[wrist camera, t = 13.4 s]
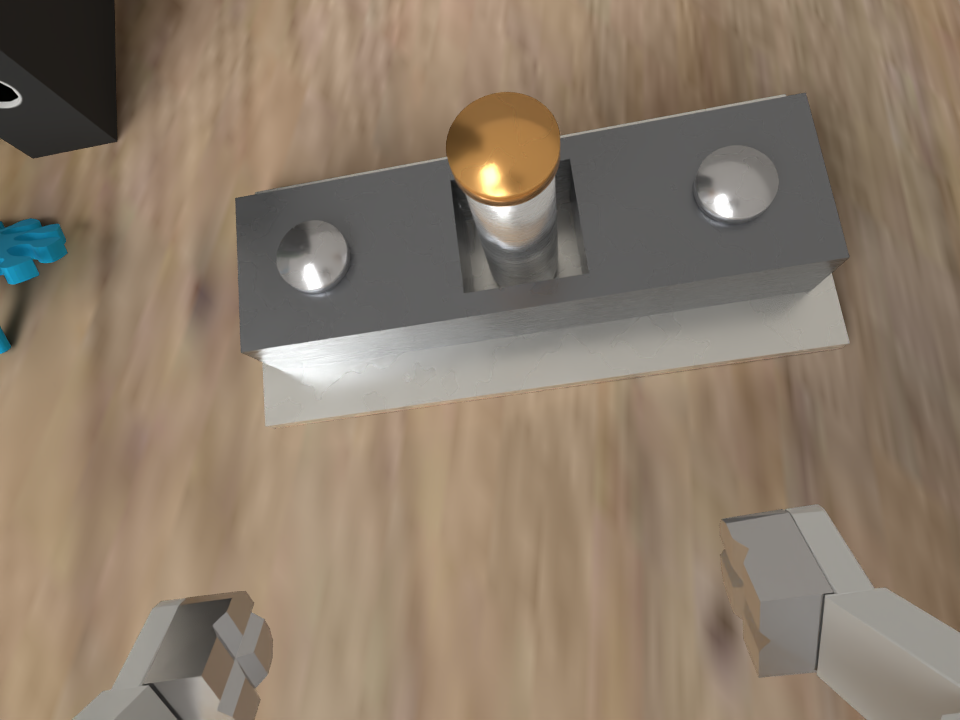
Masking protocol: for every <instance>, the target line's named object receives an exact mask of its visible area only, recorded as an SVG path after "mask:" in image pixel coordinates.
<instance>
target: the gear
mask: <svg viewBox="0 0 960 720" xmlns="http://www.w3.org/2000/svg"><path fill="white" fill-rule="evenodd" d="M65 242H66V238H65V236H64V234H63V232H62V229H61V227H60V225H59V224H51V225H47V226H44V227H42V225H41V223H40V221H39V220H37V219H32V218H30V219H26V220H22V221H20V222H17V223H15V224H13V225H11V226H9V227H6V228H5V227H4V225H3V223H2V222H1V221H0V275H4V276H5V278H6V280H7V282H8V283H9V284H17V283H21V282H24V281H26V280H29V279H31V278H34V277H36V276H38V275H39V272H38V270H37V268H36V266H35V264H34V262H33V260H32V259H37V260H38V261H39V262H40V263H51V262H55V261H57V260H59V259H61V258H62V257H63V256H65V255H66V254H67V253H68V252H67V250H66V248H65V246H64V244H65ZM10 348H11V345H10V343H9V342H8V340H7V338H6V336H5V334H4V332H3V331H2V329H1V327H0V354H1V353H4V352H6V351H8V350H9V349H10Z"/></svg>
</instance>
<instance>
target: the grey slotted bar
mask: <svg viewBox="0 0 960 720" xmlns="http://www.w3.org/2000/svg"><path fill="white" fill-rule="evenodd" d="M555 186H556V211H557V237H558V268H557V272H556V274H555V276H554V278H553V279H550V280H544V281H538V282H532V283H525V284H519V285H513V286H507V287H500V286H499V285H498V284H497V283H496V282H495V280H494V279H493V277H492V274H491V272H490V269H489V265H488V262H487V259H486V256H485V253H484V250H483V247H482V244H481V241H480V238H479V234H478V231H477V228H476V225H475V222H474V219H473V216H472V213H471V210H470V207H469V203H468V200H467V197H466V194H465V193H464V192H463V191H462V190H461V188H460V187H459V186H458V184H457V183H456V181H455V179H454V176H453V174H452V171H451V168H450V165H449V162H448V158H447V157H443V158H438V159H432V160H427V161H422V162H416V163H411V164H405V165H400V166H395V167H389V168H384V169H379V170H373V171H368V172H362V173H357V174H352V175H346V176H341V177H335V178H330V179H325V180H319V181H314V182H308V183H303V184H298V185H292V186H287V187H281V188H276V189H271V190H265V191H260V192H255V195H250V196H244V197H239V198H235V201H236V229H237V257H238V285H239V314H240V342H241V353H243V354H245V355H248V356H250V357H252V358H254V359H257V360H259V361H261V362H263V382H264V405H265V426H266V427H270V428H275V429H276V428H283V427H290V426H297V425H304V424H311V423H318V422H325V421H332V420H339V419H346V418H353V417H361V416H368V415H375V414H382V413H389V412H396V411H403V410H410V409H417V408H424V407H431V406H438V405H445V404H452V403H459V402H467V401H474V400H481V399H488V398H495V397H502V396H509V395H516V394H523V393H530V392H537V391H544V390H551V389H558V388H565V387H573V386H580V385H587V384H594V383H601V382H608V381H615V380H622V379H629V378H636V377H643V376H650V375H657V374H664V373H671V372H678V371H686V370H693V369H700V368H707V367H714V366H721V365H728V364H735V363H742V362H749V361H756V360H763V359H770V358H777V357H784V356H792V355H799V354H806V353H813V352H820V351H827V350H834V349H840V348H842V347H844V346H846V345H848V344H849V343H850V342H849V338H848V335H847V331H846V327H845V323H844V319H843V315H842V311H841V307H840V303H839V300H838V296H837V292H836V288H835V284H834V280H833V276H832V272H833V271H834V270H836V269H837V268H838V267H839V266H840V265H841V264H842V263H844V262H845V261H846V260H847V259H848V258H849V254H848V250H847V246H846V242H845V239H844V235H843V231H842V227H841V224H840V220H839V216H838V212H837V209H836V205H835V201H834V197H833V193H832V190H831V186H830V182H829V178H828V175H827V171H826V167H825V163H824V160H823V156H822V152H821V148H820V145H819V141H818V137H817V133H816V129H815V126H814V122H813V118H812V114H811V111H810V107H809V103H808V99H807V96H806V93H801V94H796V95H791V96H786V94H783V95H778V96H772V97H767V98H762V99H756V100H751V101H745V102H740V103H735V104H729V105H724V106H718V107H713V108H708V109H702V110H697V111H691V112H686V113H681V114H675V115H670V116H664V117H659V118H654V119H648V120H643V121H637V122H632V123H627V124H621V125H616V126H611V127H605V128H600V129H594V130H589V131H584V132H578V133H573V134H567V135H562V136H560V163H559V167H558V170H557V172H556V174H555Z"/></svg>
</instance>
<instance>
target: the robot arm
mask: <svg viewBox="0 0 960 720" xmlns="http://www.w3.org/2000/svg"><path fill="white" fill-rule="evenodd" d="M719 526H720V538H721V540H722V543H723V545H724V548H725V549H724V551H723V552H722V553H721V554H720V560H721V571H722V576H723V582H724V586H725V590H726V593H727V596H728V599H729V602H730V605H731V607H732V610H733V613H734V614H736V615H737V616H738V617H740V618H741V619H742V620H743V639H744V641H745V644H746V646H747V649H748V651H749V654H750V656H751V659H752V662H753V664H754V667H755V669H756V672H757V674H758V677H770V676H781V675H792V674H803V673H813V672H817V676H818V677H819V678H821V679H822V680H823V681H824V682H825V683H826V684H827V685H828V686H830V687H831V688H832V689H833V690H834V691H835V692H836V693H837V694H839V695H840V696H841V697H842V698H843V699H844V700H845V701H846V702H848V703H849V704H850V705H851V706H852V707H853V708H854V709H855V710H856V711H858V712H859V713H860V714H861V715H862V716H863V717H864V718H865V719H867V720H960V632H958V631H956V630H955V629H953V628H951V627H950V626H948V625H946V624H945V623H943V622H941V621H940V620H938V619H937V618H935V617H933V616H932V615H930V614H928V613H927V612H925V611H923V610H922V609H920V608H918V607H917V606H915V605H913V604H912V603H910V602H908V601H907V600H905V599H903V598H902V597H900V596H899V595H897V594H895V593H894V592H892V591H890V590H889V589H887V588H874V587H873V585H872V583H871V582H870V580H869V579H868V577H867V576H866V574H865V572H864V571H863V569H862V568H861V566H860V564H859V563H858V561H857V560H856V558H855V557H854V555H853V553H852V552H851V550H850V549H849V547H848V546H847V544H846V542H845V541H844V539H843V538H842V536H841V534H840V533H839V531H838V530H837V528H836V527H835V525H834V523H833V522H832V520H831V519H830V517H829V515H828V514H827V512H826V511H825V509H824V508H823V507H821V506H820V505H818V504H816V505H810V506H803V507H796V508H790V509H785V510H783V509H781V510H774V511H768V512H762V513H756V514H749V515H743V516H737V517H731V518H724V519H721V521H720V524H719ZM253 606H254V602H253V600H252V599H251V598H250V596H249V595H248V593H247V592H246V591H237V592H229V593H221V594H212V595H204V596H196V597H187V598H182V599H174V600H166V601H161V602H159V603H158V604H157V605H156V606H155V607H154V608H153V609H152V610H151V612H150V614H149V616H148V618H147V620H146V622H145V624H144V626H143V628H142V630H141V632H140V634H139V636H138V638H137V640H136V642H135V644H134V646H133V648H132V650H131V652H130V654H129V656H128V658H127V659H126V661H125V663H124V665H123V667H122V669H121V671H120V673H119V675H118V677H117V679H116V681H115V683H114V685H113V687H112V689H111V690H107V691H102V692H101V693H100V694H99V695H98V696H97V697H96V698H95V699H94V700H93V701H92V702H91V703H89V704H88V705H87V706H86V707H85V708H84V709H83V710H82V711H81V712H80V713H79V714H77V715H76V716H75V717H74V718H73V719H72V720H255V716H256V713H257V710H258V706H259V703H260V697H259V695H258V692H257V690H256V687H257V686H258V685H259V684H260V683H261V682H262V680H263V679H264V678H265V677H266V676H267V675H268V673H269V669H270V665H271V662H272V657H273V639H272V635H271V631H270V628H269V626H268V625H267V623H266V621H265V619H263V618H261V617H259V616H257V615H255V614H254V613H252V609H253Z"/></svg>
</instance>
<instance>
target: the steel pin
mask: <svg viewBox="0 0 960 720" xmlns="http://www.w3.org/2000/svg"><path fill="white" fill-rule="evenodd" d="M446 153H447V158H448V162H449V165H450V168H451V171H452V174H453V176H454V179H455V181H456V183H457V184H458V186H459V187H460V188H461V190H462V191H463V192H464V193H465V194H466V197H467V200H468V203H469V207H470V210H471V213H472V216H473V219H474V222H475V225H476V228H477V231H478V234H479V238H480V241H481V244H482V247H483V250H484V253H485V256H486V259H487V262H488V265H489V269H490V272H491V274H492V277H493V279H494V280H495V282H496V283H497V284H498V285H499V286H500V287H507V286H513V285H519V284H525V283H532V282H538V281H544V280H550V279H553V278H554V276H555V274H556V272H557V268H558V237H557V211H556V186H555V174H556V172H557V170H558V167H559V163H560V133H559V128H558V125H557V122H556V120H555V118H554V116H553V115H552V113H551V112H550V111H549V110H548V109H547V107H546V106H544V105H543V104H542V103H541V102H539V101H538V100H536V99H534V98H532V97H530V96H527V95H524V94H520V93H514V92H500V93H494V94H490V95H487V96H484V97H482V98H479V99H478V100H476V101H474V102H472V103H471V104H469V105H468V106H467V107H466V108H464V109H463V110H462V111H461V112H460V114H459V115H458V116H457V117H456V119H455V120H454V122H453V123H452V125H451V127H450V130H449V133H448V136H447V141H446Z"/></svg>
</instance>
